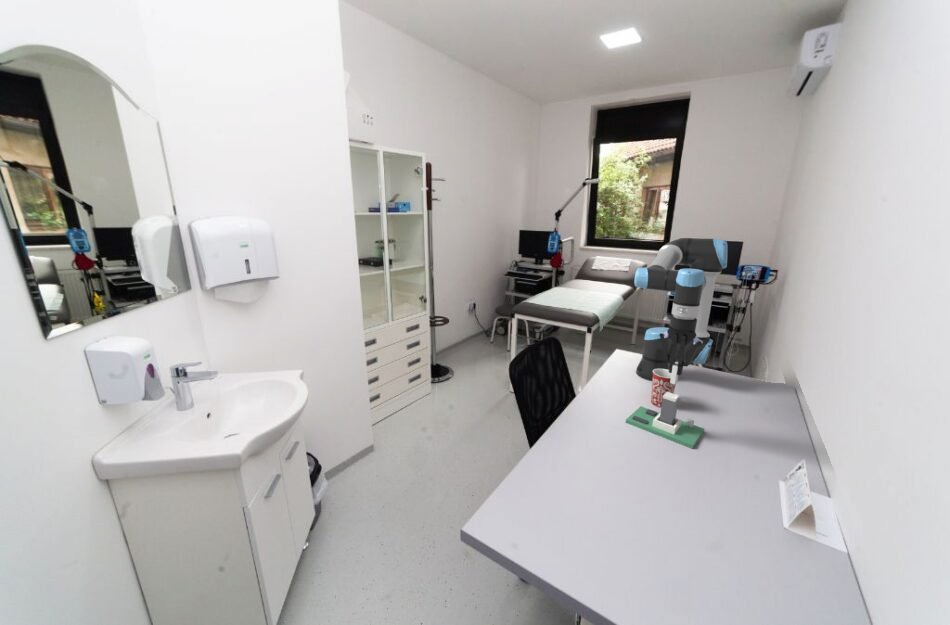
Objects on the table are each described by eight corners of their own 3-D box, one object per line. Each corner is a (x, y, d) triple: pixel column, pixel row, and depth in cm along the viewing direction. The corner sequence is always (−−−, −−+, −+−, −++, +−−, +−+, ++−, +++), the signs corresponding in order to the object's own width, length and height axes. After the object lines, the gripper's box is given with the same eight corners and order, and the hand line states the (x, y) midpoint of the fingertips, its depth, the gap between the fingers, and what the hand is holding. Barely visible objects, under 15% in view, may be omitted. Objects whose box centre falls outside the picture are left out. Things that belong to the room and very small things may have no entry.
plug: (662, 421, 132) (667, 391, 129) (674, 426, 129) (679, 395, 126) (658, 426, 129) (663, 395, 126) (670, 430, 127) (675, 399, 124)
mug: (670, 411, 142) (676, 379, 138) (645, 404, 147) (650, 373, 143) (676, 399, 151) (681, 369, 148) (653, 393, 157) (657, 364, 153)
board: (640, 408, 143) (641, 400, 142) (703, 431, 129) (705, 422, 128) (625, 422, 134) (626, 413, 133) (692, 448, 119) (694, 438, 118)
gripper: (659, 314, 121) (649, 379, 127) (703, 323, 112) (691, 392, 119) (666, 310, 126) (657, 373, 132) (709, 318, 117) (698, 384, 124)
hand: (673, 382), depth 125 cm, fingers closed
